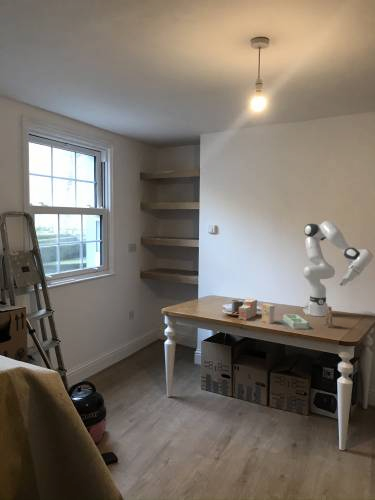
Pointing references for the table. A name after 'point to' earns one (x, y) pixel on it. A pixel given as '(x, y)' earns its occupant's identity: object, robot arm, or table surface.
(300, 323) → the rack
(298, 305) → the table surface
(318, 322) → the table surface
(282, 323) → the mat
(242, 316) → the stack of blocks
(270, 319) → the supplement box
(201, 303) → the table surface
